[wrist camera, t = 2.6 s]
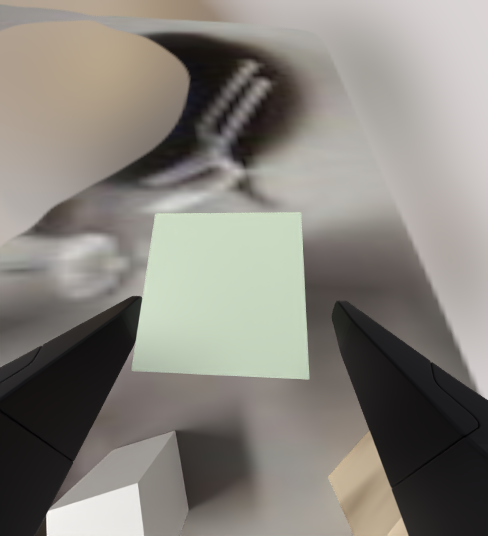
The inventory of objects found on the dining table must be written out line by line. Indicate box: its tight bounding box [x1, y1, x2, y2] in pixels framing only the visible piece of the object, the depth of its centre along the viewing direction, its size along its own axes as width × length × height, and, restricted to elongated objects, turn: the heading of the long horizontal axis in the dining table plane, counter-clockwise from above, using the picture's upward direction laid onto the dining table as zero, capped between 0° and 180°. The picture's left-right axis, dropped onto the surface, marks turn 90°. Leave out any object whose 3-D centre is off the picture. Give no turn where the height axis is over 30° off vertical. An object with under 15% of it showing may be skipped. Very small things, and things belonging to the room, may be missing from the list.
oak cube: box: [328, 430, 408, 536], centre depth 11 cm, size 5×5×5 cm
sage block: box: [131, 212, 309, 379], centre depth 11 cm, size 4×4×12 cm
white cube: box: [46, 431, 189, 536], centre depth 12 cm, size 5×5×5 cm
